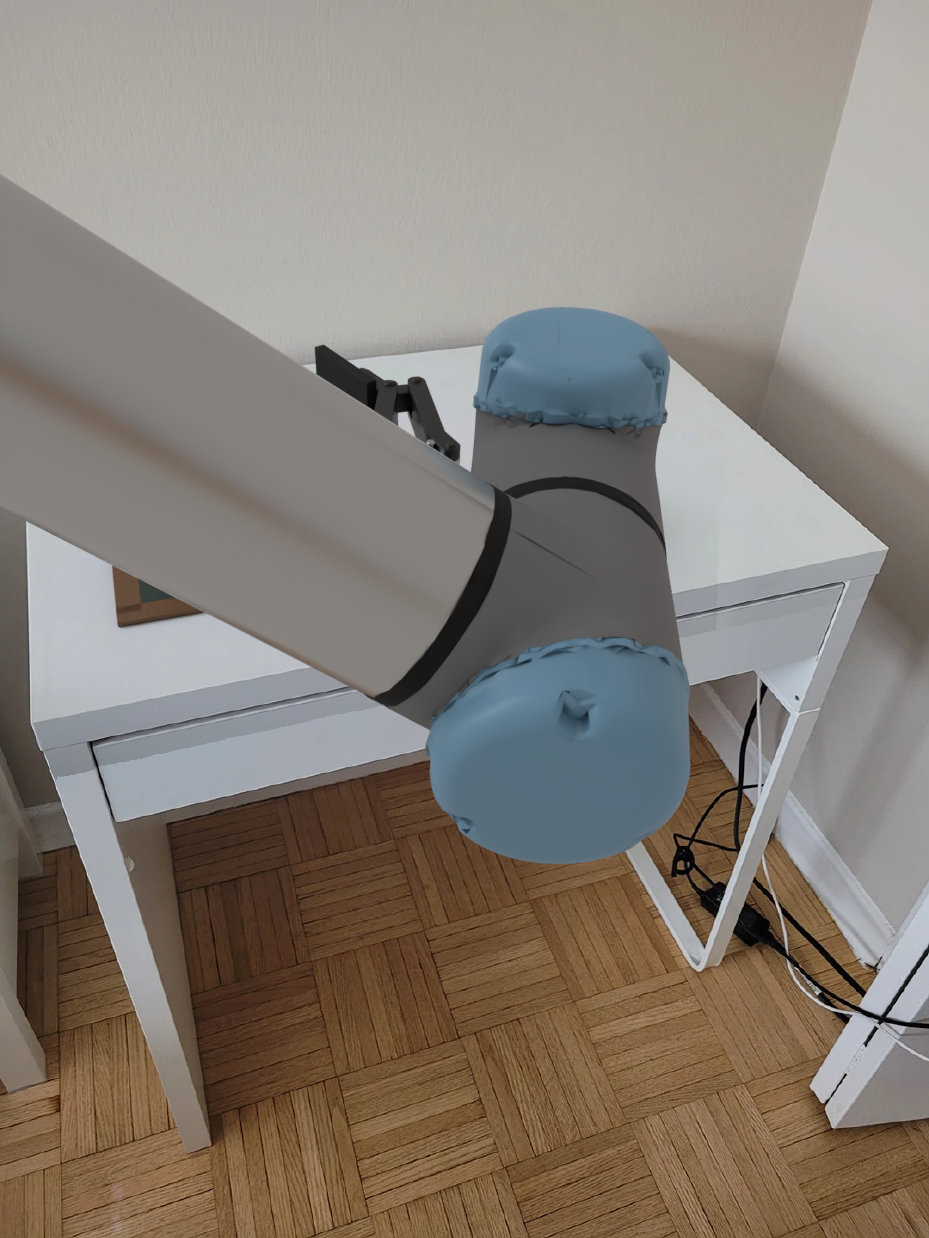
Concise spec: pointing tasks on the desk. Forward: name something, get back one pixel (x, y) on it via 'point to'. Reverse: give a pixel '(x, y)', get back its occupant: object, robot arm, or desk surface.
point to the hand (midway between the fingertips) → (233, 388)
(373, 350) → the desk surface
